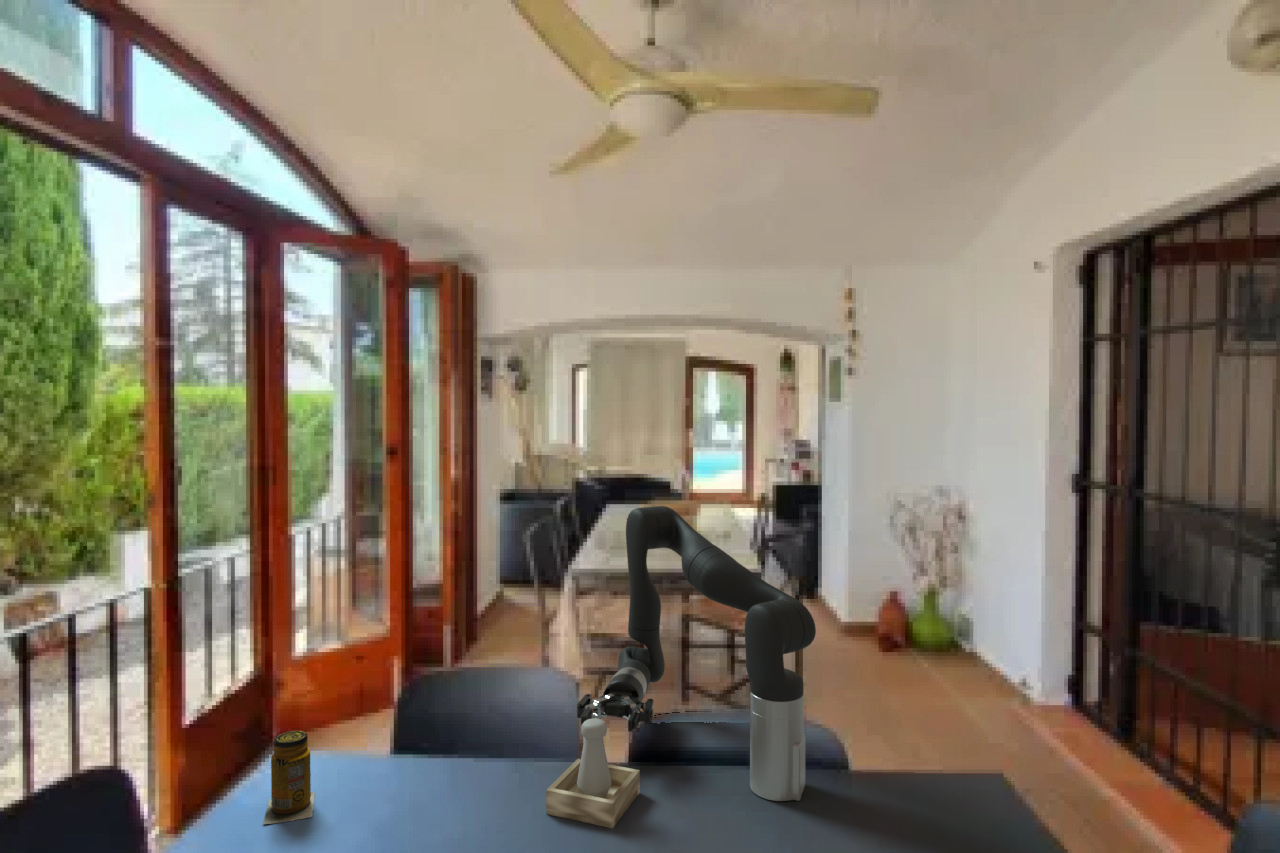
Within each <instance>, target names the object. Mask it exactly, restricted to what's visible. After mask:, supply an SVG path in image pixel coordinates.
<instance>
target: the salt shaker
mask: <svg viewBox="0 0 1280 853" xmlns="http://www.w3.org/2000/svg"><path fill="white" fill-rule="evenodd" d="M580 730H581V734H582V737H583V738H584V740H583V746H582V752H581V757H580V759H581V762H580V768H579V774H578V779H577V786H578V789H579V791H580V793H581V794H584V795H589V796H594V797H599V798H604V799H606V796H607V794H608V791H609V789H610V786H611V778H610V773H609V768H608V764H609V763H608V757H607V753H606V748H605V743H604V742H605V741H604V738H605V736H606V735H607V731H608V728H607V723H606V722H605V720H603V719H597V718H594V719H588V720H586V721H585V722H584V723H583V724H582V725H581V728H580Z"/></svg>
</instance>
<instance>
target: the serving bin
mask: <svg viewBox="0 0 1280 853" xmlns="http://www.w3.org/2000/svg"><path fill="white" fill-rule="evenodd" d="M580 762H581V758H577V759H576V760H575V761H573V763H572V764H571V765H570V766H569V767H568V768H567V769H565V770H564V772H563V773H561V775H560V776H558V778H557V779H556V780H555V781H554V782H552V784H551V785H550V786H549V787H548V788H547V789H546V790H545V811H546V812H545V815H548V816H549V815H550V816H553V817H554V816H555V817H558V818H564V819H569V820H572V821H577V822H581V823H587V824H591V825H596V826H599V827H600V826H601V827H604V828H610V829H614V828H615V826H617V825H616V824H618V822H619V821H620V819H622V817H623V815H624V814H625V813H626V811H627V810H628V809H629V808H630V806H631V805H632V804H633V802H634V801H635V800H636V799H637V797H638V796H639V795H640V793H641V789H640V788H641V787H640V786H641V775H640V774H641V770H640V769H635V768H631V767H625V766H618V765H614V764H609V763H608V768H609V773H610V778H611V786H610V789H609V791H608V794H607V796H606V799H604V798H599V797H594V796H589V795H584V794H581V793H580V791H579V789H578V786H577V779H578V774H579V768H580Z"/></svg>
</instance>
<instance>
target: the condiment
mask: <svg viewBox="0 0 1280 853" xmlns="http://www.w3.org/2000/svg"><path fill="white" fill-rule="evenodd" d="M272 745H273V750H272V751H273V753H272V755H271V758H270V775H271V777H270V778H271V780H270V782H271V785H270V786H271V788H270V790H271V793H270V794H271V798H269V799H268V801H267V806H266V811H265V814H264V819H263V822H262V825H268V824H269V825H272V824H278V823H284V822H285V823H286V822H293V821H296V820H304V819H306V818H312V817H313V810H314V804H315V795H316V792H315V791H313V792H311V790H312V789H311V787H312V786H311V784H312V783H311V781H312V780H311V778H312V777H311V772H312V771H311V749H310V748H309V742H308V733H307V732H306V731H303V730H291V731H286V732H285V731H284V732H282V733H280V734H279V735H277V736H276V737H274V739H273V743H272Z"/></svg>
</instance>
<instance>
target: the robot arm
mask: <svg viewBox="0 0 1280 853" xmlns="http://www.w3.org/2000/svg"><path fill="white" fill-rule="evenodd" d="M625 523H626V524H625V542H626V543H625V544H626V555H627V556H626V558H627V568H628V570H627V571H628V579H629V581H628V582H629V610H628V611H629V612H628V626H627V632H628V636H629V637H630V638H631V639H632V640H634V641H636V642H638V643H641V644H642V645H644V646H645V647H646V648H644V647H637V646H626V647H624V648H622V650H621V651H620V653H619V655H618V659H617V670H618V671H617V672H616V673H615V674H613V676H612V677H611V680H609V683H608V684H607V685H606V687H605V689H604V691H603V694H602V695H600V696H599V697H598V698H592V694H590V693H586V694H584V696H582V698H581V699H580V700H579V701H578V702H577V704H576V717H577V718H578V719H580V725H581V726H582V724H583V723H584V722H585V721H586V720H588V719H594V718H597V719H601V720H603V719H605V718H607V717H616V718H619V719H626V720H627V726H628V727H627V728H628V729H627V731H628V732H633V731H634V730H636V729H637V728H638V726H639V725H640V724H641V722H644V724H646V725H647V724H648V725H649V724H651V723H652V719H653V715H654V699H653V698H647V700H645V701H644V702H643V700H644V698H645V696H646V692H647V688H648V686H649V684H650V683H657V682H659V681H660V680H661V679H662V677H663V676H664V674H665V668H666V666H665V665H666V664H665V656H664V653H663V649H662V643H661V637H660V625H661V615H662V614H661V612H662V603H661V598H660V594H659V592H658V589H657V588H656V586H655V584H654V581H653V580H652V577H651V575H650V573H649V569H648V566H647V565H648V564H647V562H648V561H647V558H648V550H655V549H669V550H672V551H673V552H675V553H676V554H677V555H679V556H680V557H681V569H682V573H683V576H684V578H685V579H686V581H687V582H688V583H689V584H691V586H692V587H693V588H695V589H696V590H697V591H698V592H700V593H701V594H702V595H703V596H705V597H706V598H708V599H709V600H711V601H713V602H716V603H717V604H721V605H724V606H727V607H730V608H733V609H736V610H739V611H743V612H745V613H746V615H745V621H744V644H745V665H746V666H745V667H746V672H747V677H748V679H749V684H750V685H749V687H750V688H749V689H750V690H749V691H750V693H749V695H750V696H749V697H750V698H749V699H750V701H749V702H750V707H749V708H750V709H749V710H750V712H749V713H750V714H749V719H750V722H749V725H750V726H749V734H750V735H749V747H750V748H749V788H750V789H751V792H753V793H754V794H755V795H756V796H758V797H760V798H762V799H765V800H768V801H774V802H786V801H798V802H799V801H800V800H801V799H802V797H803V796H802V795H803V792H804V790H805V787H806V732H804V679H803V677H802V676H801V674H799V673H797V672H796V671H794V670H791V669H788V668H785V665H784V655H786V654H790V653H796V652H798V651H802V650H803V649H805V648H807V647H809V646H810V645H811V644H812V643H813V641H815V640H814V639H815V637H816V633H817V631H816V630H817V629H816V624H815V620H814V617H813V615H812V613H811V612H810V610H809V609H808V608H807V607H806V606H805V604H803V603H802V602H801V601H800V600H798V599H797V598H795V597H793V596H791V595H790V594H788V593H786V592H785V591H783V590H780V589H779V588H777V587H775V586H773V585H772V584H770V583H769V582H767V581H765V580H764V579H762V578H760V576H758V575H756V574H755V573H754V572H752V571H751V570H750V569H748V568H747V567H745V566H744V565H742V564H741V563H740V562H738V561H737V560H736V559H734V557H733V556H731V555H729V554H728V553H727V552H725V551H724V550H722V549H721V548H720V547H719V546H717V545H716V544H714V543H712V542H711V541H710V540H708V539H707V537H704V536H703V534H701V533H699V532H698V531H697V530H696V529H694V527H693V526H691V525H690V524H689V523H688V522H687V521H686V520H685V519H684V518H683V517H682V516H681V515H680V514H679V513H678V512H677V511H676V510H674V509H673V508H672V507H668V506H664V505H658V506H657V505H656V506H646V507H645V506H644V507H643V506H642V507H636V508H634V509H632V510H630V512H629V513H628V516H627V518H626V522H625ZM592 710H593V712H592ZM641 710H642V711H641Z"/></svg>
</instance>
